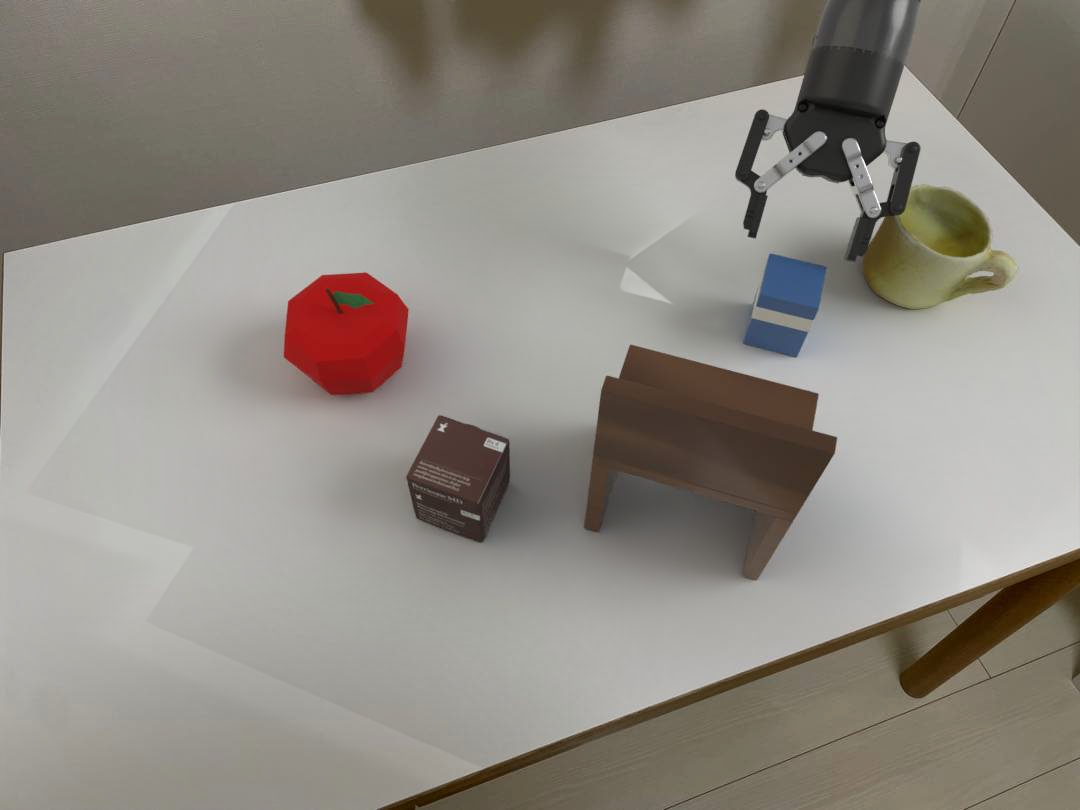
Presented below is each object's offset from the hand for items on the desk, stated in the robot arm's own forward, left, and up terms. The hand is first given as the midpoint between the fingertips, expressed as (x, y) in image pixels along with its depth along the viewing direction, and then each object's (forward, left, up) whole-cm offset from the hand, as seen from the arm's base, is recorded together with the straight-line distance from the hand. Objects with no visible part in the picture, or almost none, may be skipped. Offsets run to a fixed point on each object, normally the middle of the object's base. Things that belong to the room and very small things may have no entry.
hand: (800, 249), depth 74 cm
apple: (+38, -12, -8) cm, 41 cm away
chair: (+19, +13, -8) cm, 24 cm away
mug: (-14, +4, -8) cm, 17 cm away
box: (+35, +5, -8) cm, 36 cm away
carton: (+2, +2, -8) cm, 8 cm away
